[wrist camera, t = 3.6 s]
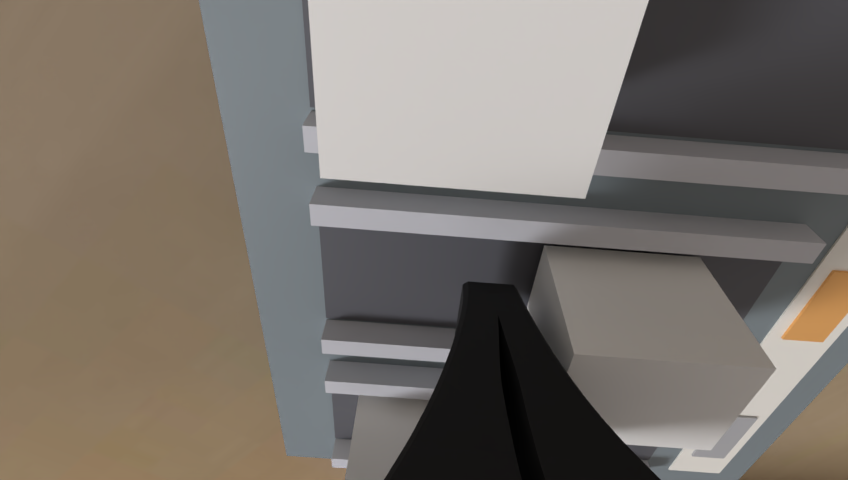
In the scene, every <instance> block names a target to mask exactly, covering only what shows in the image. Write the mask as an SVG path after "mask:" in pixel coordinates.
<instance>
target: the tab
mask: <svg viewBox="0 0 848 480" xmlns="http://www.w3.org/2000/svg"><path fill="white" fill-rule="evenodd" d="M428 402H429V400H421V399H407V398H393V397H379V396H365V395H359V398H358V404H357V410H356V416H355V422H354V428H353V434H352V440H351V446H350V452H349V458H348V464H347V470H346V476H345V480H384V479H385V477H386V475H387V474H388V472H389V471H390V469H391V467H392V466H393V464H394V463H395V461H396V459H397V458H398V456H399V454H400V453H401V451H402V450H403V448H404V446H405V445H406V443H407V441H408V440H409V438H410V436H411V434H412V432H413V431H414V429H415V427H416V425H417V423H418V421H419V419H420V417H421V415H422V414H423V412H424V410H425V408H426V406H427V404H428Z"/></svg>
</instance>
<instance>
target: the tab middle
mask: <svg viewBox="0 0 848 480" xmlns="http://www.w3.org/2000/svg"><path fill="white" fill-rule="evenodd" d="M527 309H528V311H529V313H530V315H531V316H532V318H533V320H534V322H535V323H536V325H537V327H538V329H539V330H540V332H541V334H542V335H543V337H544V338H545V340H546V342H547V343H548V345H549V346H550V348H551V349H552V351H553V353H554V354H555V356H556V357H557V359H558V360H559V362H560V363H561V365H562V366H563V367H564V369H565V370H566V372H567V373H568V374H569V376H570V377H571V379H572V380H573V381H574V383H575V384H576V386H577V387H578V388H579V390H580V391H581V392H582V393H583V395H584V396H585V397H586V399H587V400H588V401H589V402H590V404H591V405H592V406H593V407H594V409H595V410H596V411H597V412H598V413H599V415H600V416H601V417H602V418H603V419H604V421H605V422H606V423H607V424H608V425H609V426H610V427H611V428H612V430H613V431H614V432H615V433H616V434H617V435H618V436H619V437H620V439H621V440H622V441H623V442H624V443H625V444H626V445H640V446H654V447H668V448H683V449H697V450H712V448H713V447H714V446H715V445H716V443H717V442H718V441H719V440H720V438H721V437H722V436H723V435H724V433H725V432H726V431H727V430H728V429H729V427H730V426H731V425H732V424H733V422H734V421H735V420H736V419H737V417H738V416H739V415H740V414H741V412H742V411H743V410H744V409H745V407H746V406H747V405H748V404H749V402H750V401H751V400H752V399H753V397H754V396H755V395H756V394H757V392H758V391H759V390H760V389H761V388H762V386H763V385H764V384H765V383H766V381H767V380H768V379H769V378H770V376H771V375H772V374H773V373H774V371H775V370H776V368H775V366H774V365H773V363H772V362H771V360H770V359H769V357H768V356H767V354H766V353H765V351H764V350H763V349H762V347H761V346H760V344H759V343H758V341H757V340H756V338H755V337H754V335H753V334H752V332H751V331H750V330H749V328H748V327H747V325H746V324H745V322H744V321H743V319H742V318H741V316H740V315H739V314H738V312H737V311H736V309H735V308H734V306H733V305H732V303H731V302H730V300H729V299H728V297H727V296H726V295H725V293H724V292H723V290H722V289H721V287H720V286H719V284H718V283H717V281H716V280H715V278H714V277H713V276H712V274H711V273H710V271H709V270H708V268H707V267H706V265H705V264H704V262H703V261H702V260H701V258H700V257H691V256H678V255H665V254H651V253H638V252H625V251H612V250H599V249H586V248H573V247H560V246H547V245H544V248H543V251H542V255H541V259H540V262H539V266H538V269H537V273H536V276H535V280H534V284H533V287H532V291H531V294H530V298H529V302H528V305H527Z"/></svg>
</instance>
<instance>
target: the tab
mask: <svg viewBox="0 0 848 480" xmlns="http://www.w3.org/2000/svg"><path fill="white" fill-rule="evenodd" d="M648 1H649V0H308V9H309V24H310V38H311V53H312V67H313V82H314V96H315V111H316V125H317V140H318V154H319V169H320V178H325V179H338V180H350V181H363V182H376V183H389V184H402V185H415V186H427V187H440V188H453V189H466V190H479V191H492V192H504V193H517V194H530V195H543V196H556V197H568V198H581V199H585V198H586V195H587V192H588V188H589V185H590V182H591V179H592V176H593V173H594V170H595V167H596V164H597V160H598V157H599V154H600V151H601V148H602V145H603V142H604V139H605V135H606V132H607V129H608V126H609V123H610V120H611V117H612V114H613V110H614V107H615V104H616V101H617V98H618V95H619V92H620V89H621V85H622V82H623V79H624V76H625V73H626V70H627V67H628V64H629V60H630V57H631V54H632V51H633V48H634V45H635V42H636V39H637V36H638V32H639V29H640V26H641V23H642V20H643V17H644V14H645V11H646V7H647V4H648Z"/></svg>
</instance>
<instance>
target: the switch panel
mask: <svg viewBox="0 0 848 480" xmlns="http://www.w3.org/2000/svg"><path fill="white" fill-rule="evenodd" d="M199 4H200V9H201V14H202V19H203V25H204V30H205V35H206V40H207V45H208V50H209V56H210V61H211V66H212V71H213V76H214V81H215V87H216V92H217V97H218V102H219V107H220V112H221V118H222V123H223V128H224V133H225V138H226V143H227V149H228V154H229V159H230V164H231V169H232V174H233V180H234V185H235V190H236V195H237V200H238V205H239V211H240V216H241V221H242V226H243V231H244V236H245V242H246V247H247V252H248V257H249V262H250V267H251V273H252V278H253V283H254V288H255V293H256V298H257V304H258V309H259V314H260V319H261V324H262V329H263V335H264V340H265V345H266V350H267V355H268V360H269V366H270V371H271V376H272V381H273V386H274V391H275V397H276V402H277V407H278V412H279V417H280V422H281V428H282V433H283V438H284V443H285V448H286V453H287V456H300V457H315V458H329V459H332V467H338V468H347V464H348V458H349V452H350V446H351V440H352V434H353V428H354V422H355V416H356V410H357V404H358V398H359V395H365V396H379V397H393V398H407V399H421V400H430V398H431V395H432V393H433V391H434V389H435V387H436V385H437V382H438V380H439V378H440V375H441V373H442V370H443V368H444V365H445V362H446V360H447V357H448V355H449V352H450V349H451V346H452V343H453V340H454V337H455V330H456V324H457V318H458V311H459V305H460V298H461V292H462V285H463V284H464V283H466V282H468V281H470V282H484V283H497V284H511V285H514V286H515V287H516V288H517V290H518V292H519V294H520V296H521V298H522V300H523V302H524V304H525V305H526V307H527V305H528V302H529V298H530V294H531V291H532V287H533V284H534V280H535V276H536V273H537V269H538V266H539V262H540V259H541V255H542V251H543V248H544V245H547V246H560V247H573V248H586V249H599V250H612V251H625V252H638V253H651V254H665V255H678V256H691V257H700V258H701V260H702V261H703V262H704V264H705V265H706V267H707V268H708V270H709V271H710V273H711V274H712V276H713V277H714V278H715V280H716V281H717V283H718V284H719V286H720V287H721V289H722V290H723V292H724V293H725V295H726V296H727V297H728V299H729V300H730V302H731V303H732V305H733V306H734V308H735V309H736V311H737V312H738V314H739V315H740V316H741V318H742V319H743V321H744V322H745V324H746V325H747V327H748V328H749V330H750V331H751V332H752V334H753V335H754V337H755V338H756V340H757V341H758V343H759V344H760V346H761V347H762V349H763V350H764V351H765V353H766V354H767V356H768V357H769V359H770V360H771V362H772V363H773V365H774V366H775V368H776V370H775V371H774V373H773V374H772V375H771V376H770V378H769V379H768V380H767V381H766V383H765V384H764V385H763V386H762V388H761V389H760V390H759V391H758V392H757V394H756V395H755V396H754V397H753V399H752V400H751V401H750V402H749V404H748V405H747V406H746V407H745V409H744V410H743V411H742V412H741V414H740V415H739V416H738V417H737V419H736V420H735V421H734V422H733V424H732V425H731V426H730V427H729V429H728V430H727V431H726V432H725V433H724V435H723V436H722V437H721V438H720V440H719V441H718V442H717V443H716V445H715V446H714V447H713V448H712V450H697V449H683V448H668V447H654V446H640V445H627V446H628V447H629V448H630V449H631V450H632V451H633V452H634V453H635V454H636V455H637V456H638V457H639V458H640V459H641V460H642V461H643V462H644V463H645V464H646V465H647V466H648V467H649V468H650V469H651V470H652V471H653V472H654V473H655V474H656V475H657V476H658V477H659V478H660V479H661V480H739V479H740V478H741V476H742V475H743V474H744V473H745V472H746V471H747V470H748V469H749V468H750V467H751V466H752V465H753V464H754V463H755V461H756V460H757V459H758V458H759V457H760V456H761V455H762V454H763V453H764V452H765V451H766V450H767V449H768V448H769V447H770V445H771V444H772V443H773V442H774V441H775V440H776V439H777V438H778V437H779V436H780V435H781V434H782V433H783V432H784V430H785V429H786V428H787V427H788V426H789V425H790V424H791V423H792V422H793V421H794V420H795V419H796V418H797V417H798V415H799V414H800V413H801V412H802V411H803V410H804V409H805V408H806V407H807V406H808V405H809V404H810V403H811V402H812V400H813V399H814V398H815V397H816V396H817V395H818V394H819V393H820V392H821V391H822V390H823V389H824V388H825V387H826V385H827V384H828V383H829V382H830V381H831V380H832V379H833V378H834V377H835V376H836V375H837V374H838V373H839V372H840V371H841V369H842V368H843V367H844V366H845V365H846V364H847V363H848V0H649V1H648V4H647V7H646V11H645V14H644V17H643V20H642V23H641V26H640V29H639V32H638V36H637V39H636V42H635V45H634V48H633V51H632V54H631V57H630V60H629V64H628V67H627V70H626V73H625V76H624V79H623V82H622V85H621V89H620V92H619V95H618V98H617V101H616V104H615V107H614V110H613V114H612V117H611V120H610V123H609V126H608V129H607V132H606V135H605V139H604V142H603V145H602V148H601V151H600V154H599V157H598V160H597V164H596V167H595V170H594V173H593V176H592V179H591V182H590V185H589V188H588V192H587V195H586V198H585V199H581V198H568V197H556V196H543V195H530V194H517V193H504V192H492V191H479V190H466V189H453V188H440V187H427V186H415V185H402V184H389V183H376V182H363V181H350V180H338V179H325V178H320V169H319V154H318V140H317V125H316V111H315V96H314V82H313V67H312V53H311V38H310V24H309V9H308V0H199Z"/></svg>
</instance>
